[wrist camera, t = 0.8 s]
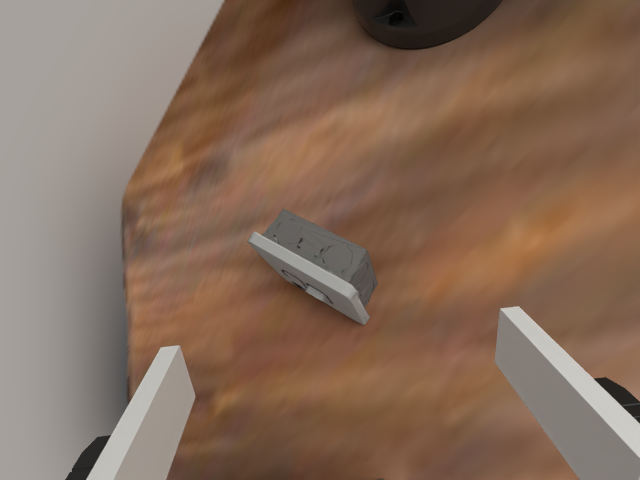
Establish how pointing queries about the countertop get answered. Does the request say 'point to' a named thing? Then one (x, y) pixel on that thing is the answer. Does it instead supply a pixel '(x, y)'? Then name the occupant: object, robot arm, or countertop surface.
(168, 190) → the countertop surface
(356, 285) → the electrical switch
